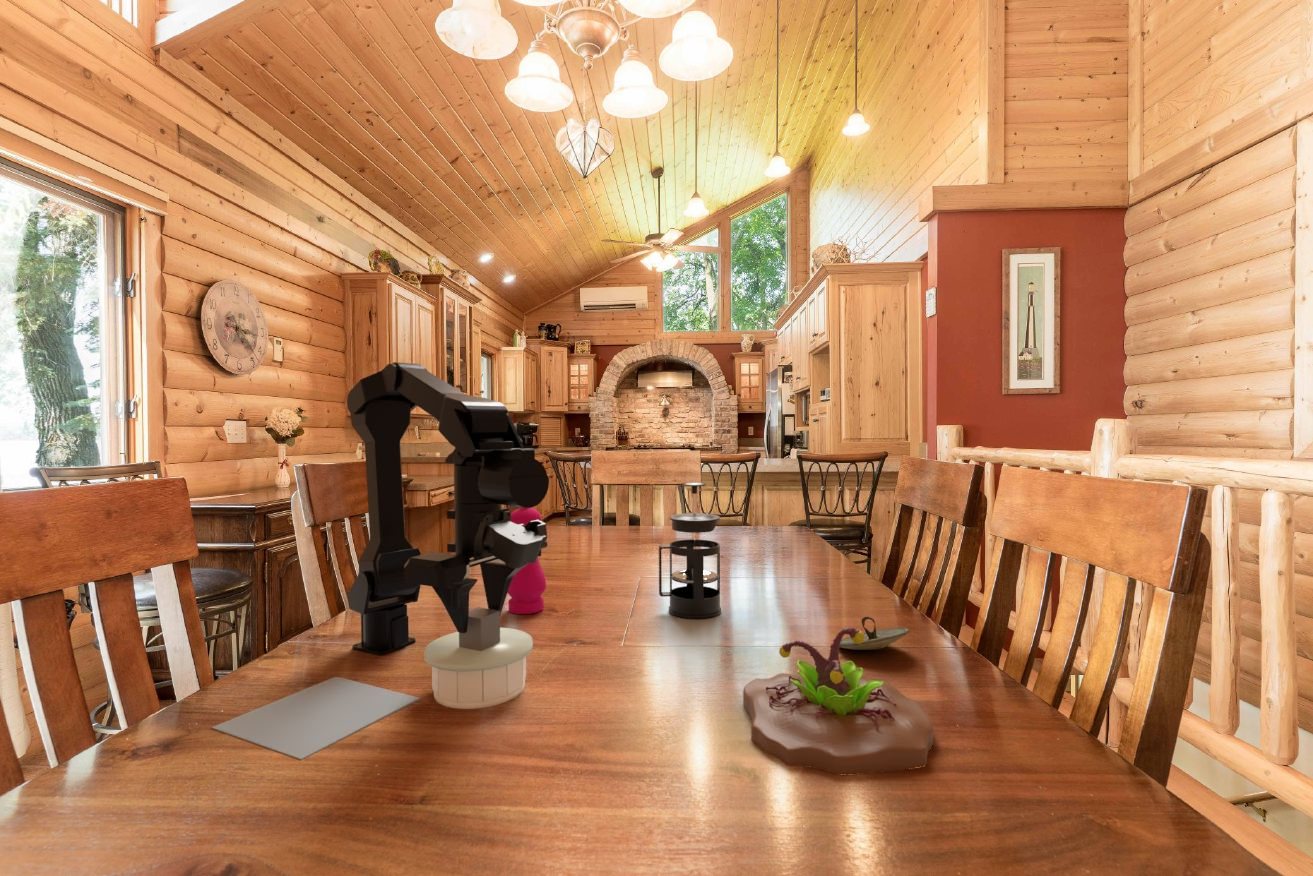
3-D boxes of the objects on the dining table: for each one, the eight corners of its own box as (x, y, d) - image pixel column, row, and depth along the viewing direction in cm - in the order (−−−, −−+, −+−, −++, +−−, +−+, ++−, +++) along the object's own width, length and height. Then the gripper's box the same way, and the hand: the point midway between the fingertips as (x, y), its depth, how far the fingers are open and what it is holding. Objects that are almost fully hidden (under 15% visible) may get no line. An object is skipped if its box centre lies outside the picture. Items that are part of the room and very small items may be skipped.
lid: (884, 671, 83) (884, 634, 83) (822, 650, 90) (822, 616, 90) (922, 652, 90) (923, 618, 89) (861, 634, 97) (862, 603, 97)
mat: (212, 730, 67) (212, 727, 67) (336, 679, 81) (335, 676, 81) (301, 763, 61) (301, 759, 61) (419, 701, 74) (419, 697, 74)
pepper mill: (537, 616, 107) (536, 501, 106) (498, 614, 108) (497, 501, 108) (552, 604, 114) (551, 497, 114) (516, 602, 115) (515, 496, 115)
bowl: (413, 699, 75) (413, 658, 75) (476, 667, 85) (476, 631, 84) (484, 718, 70) (483, 674, 70) (542, 681, 80) (542, 643, 80)
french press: (719, 602, 115) (719, 479, 115) (729, 618, 106) (729, 484, 105) (656, 604, 114) (656, 480, 114) (661, 620, 105) (661, 485, 104)
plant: (967, 784, 58) (968, 665, 57) (757, 778, 58) (757, 662, 58) (894, 691, 77) (895, 602, 77) (739, 688, 78) (739, 601, 78)
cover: (400, 660, 74) (400, 621, 74) (475, 628, 86) (475, 593, 86) (485, 679, 68) (484, 636, 68) (552, 641, 80) (552, 605, 80)
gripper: (476, 515, 65) (477, 662, 65) (574, 496, 82) (574, 613, 82) (399, 509, 70) (401, 646, 70) (507, 492, 86) (508, 602, 87)
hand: (479, 625), depth 77 cm, fingers open, 6 cm apart
